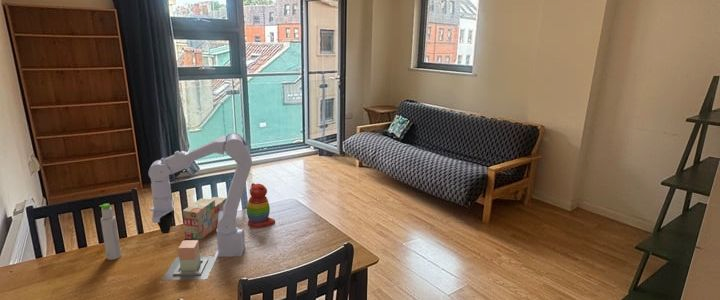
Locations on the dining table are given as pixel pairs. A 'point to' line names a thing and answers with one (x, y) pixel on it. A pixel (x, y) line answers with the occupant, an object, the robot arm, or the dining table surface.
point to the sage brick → (190, 264)
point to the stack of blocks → (202, 217)
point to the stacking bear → (258, 207)
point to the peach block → (188, 250)
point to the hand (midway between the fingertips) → (165, 232)
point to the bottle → (110, 233)
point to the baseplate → (200, 274)
